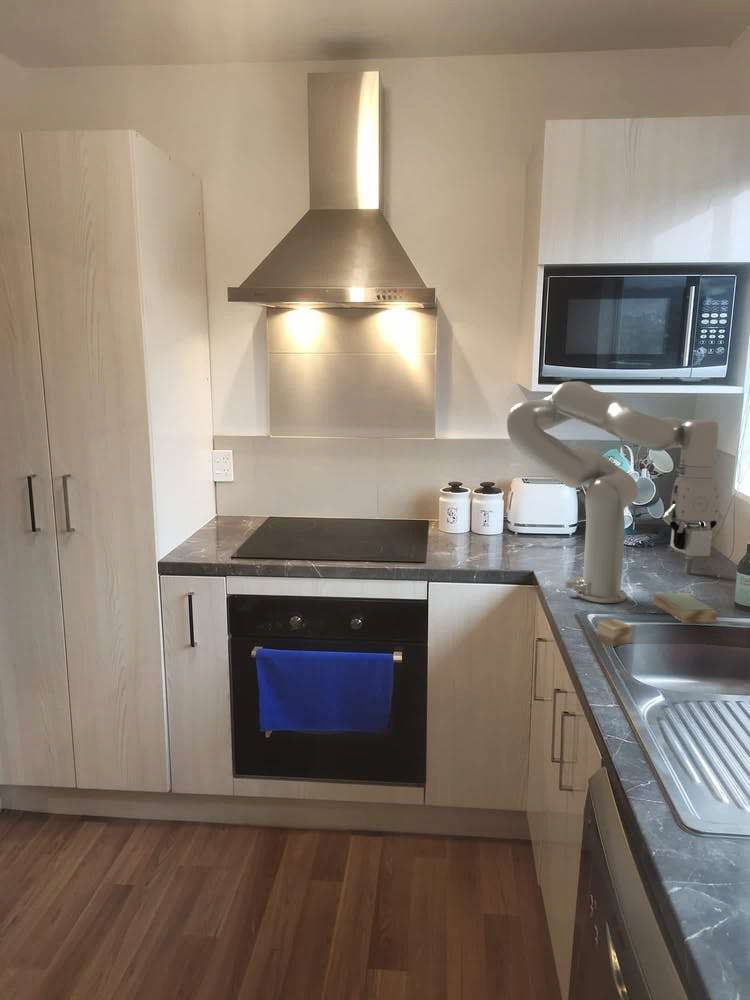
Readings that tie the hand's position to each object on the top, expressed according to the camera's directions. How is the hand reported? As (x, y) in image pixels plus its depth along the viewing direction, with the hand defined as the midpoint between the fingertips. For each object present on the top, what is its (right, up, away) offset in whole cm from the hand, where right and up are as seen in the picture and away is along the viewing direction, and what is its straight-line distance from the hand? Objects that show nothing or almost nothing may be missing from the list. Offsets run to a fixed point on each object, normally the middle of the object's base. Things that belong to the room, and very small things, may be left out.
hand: (690, 547), depth 171 cm
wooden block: (0, -16, +3) cm, 17 cm away
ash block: (-23, -20, -15) cm, 34 cm away
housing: (0, -1, 0) cm, 1 cm away
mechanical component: (+15, -10, +36) cm, 41 cm away
